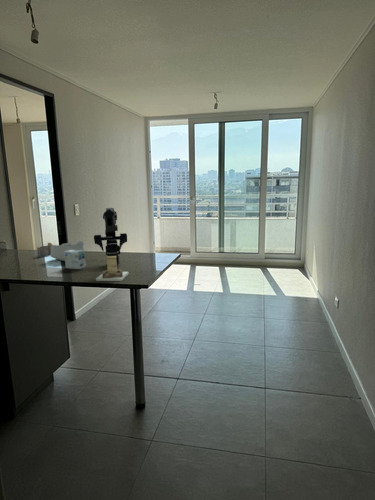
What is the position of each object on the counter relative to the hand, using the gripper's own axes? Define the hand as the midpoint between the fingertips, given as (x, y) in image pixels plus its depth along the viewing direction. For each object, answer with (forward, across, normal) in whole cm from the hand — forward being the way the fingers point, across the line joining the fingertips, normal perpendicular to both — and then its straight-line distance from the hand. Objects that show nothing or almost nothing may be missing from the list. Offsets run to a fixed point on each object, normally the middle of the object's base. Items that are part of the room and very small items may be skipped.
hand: (111, 250), depth 186 cm
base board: (+15, 0, +4) cm, 16 cm away
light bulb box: (-6, -23, +25) cm, 35 cm away
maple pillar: (+14, 0, +3) cm, 14 cm away
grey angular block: (-24, -30, +44) cm, 58 cm away
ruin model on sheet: (-37, -49, +58) cm, 85 cm away
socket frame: (+14, 0, +3) cm, 15 cm away
